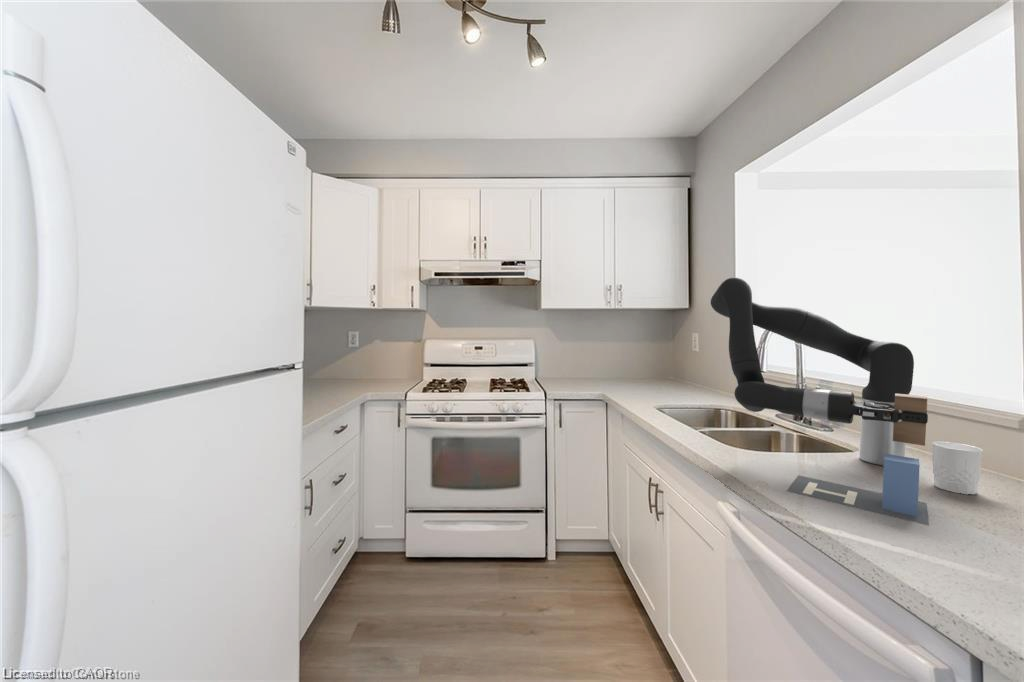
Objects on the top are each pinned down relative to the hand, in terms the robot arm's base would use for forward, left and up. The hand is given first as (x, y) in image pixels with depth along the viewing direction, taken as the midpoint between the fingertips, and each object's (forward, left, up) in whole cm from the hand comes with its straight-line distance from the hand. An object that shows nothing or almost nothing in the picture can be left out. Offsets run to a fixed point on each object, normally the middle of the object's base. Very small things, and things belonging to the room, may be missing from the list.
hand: (926, 416), depth 88 cm
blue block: (+13, -4, -17) cm, 22 cm away
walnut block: (0, -3, -6) cm, 6 cm away
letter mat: (+12, -11, -18) cm, 24 cm away
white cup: (-13, +5, -18) cm, 23 cm away
